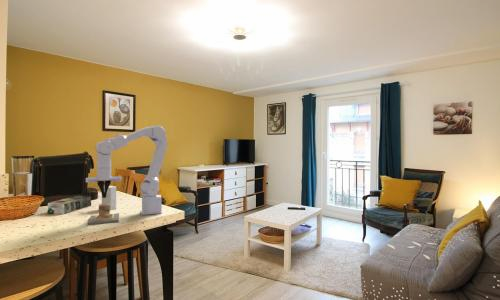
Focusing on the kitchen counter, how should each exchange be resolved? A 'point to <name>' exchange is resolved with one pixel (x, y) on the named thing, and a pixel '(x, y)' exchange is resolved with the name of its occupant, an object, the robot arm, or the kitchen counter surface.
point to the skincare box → (110, 197)
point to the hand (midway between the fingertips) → (104, 197)
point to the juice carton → (69, 204)
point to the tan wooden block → (104, 211)
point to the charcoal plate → (96, 219)
